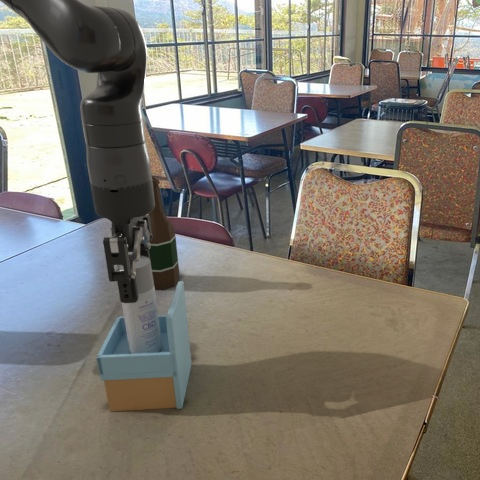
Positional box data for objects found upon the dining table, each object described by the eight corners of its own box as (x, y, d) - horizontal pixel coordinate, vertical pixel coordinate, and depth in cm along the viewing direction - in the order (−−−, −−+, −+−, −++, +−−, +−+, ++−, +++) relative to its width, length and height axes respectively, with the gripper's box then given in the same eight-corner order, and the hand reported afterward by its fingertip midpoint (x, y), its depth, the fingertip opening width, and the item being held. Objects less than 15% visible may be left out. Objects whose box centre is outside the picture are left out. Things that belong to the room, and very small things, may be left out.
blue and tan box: (107, 413, 71) (88, 321, 64) (125, 367, 80) (111, 283, 74) (182, 409, 72) (171, 318, 65) (191, 364, 81) (183, 280, 75)
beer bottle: (179, 272, 112) (168, 172, 102) (181, 288, 105) (170, 182, 96) (143, 276, 110) (129, 174, 100) (143, 292, 103) (128, 185, 93)
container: (150, 362, 71) (137, 272, 65) (123, 356, 72) (108, 266, 66) (168, 344, 75) (157, 257, 69) (142, 338, 76) (130, 253, 70)
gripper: (107, 162, 68) (123, 265, 75) (70, 194, 55) (93, 314, 62) (161, 162, 69) (172, 264, 76) (138, 193, 56) (153, 312, 63)
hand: (137, 286), depth 69 cm, fingers open, 8 cm apart
